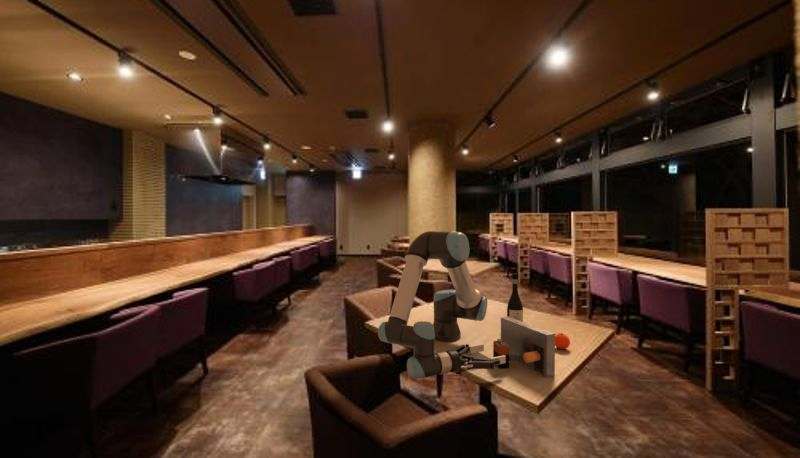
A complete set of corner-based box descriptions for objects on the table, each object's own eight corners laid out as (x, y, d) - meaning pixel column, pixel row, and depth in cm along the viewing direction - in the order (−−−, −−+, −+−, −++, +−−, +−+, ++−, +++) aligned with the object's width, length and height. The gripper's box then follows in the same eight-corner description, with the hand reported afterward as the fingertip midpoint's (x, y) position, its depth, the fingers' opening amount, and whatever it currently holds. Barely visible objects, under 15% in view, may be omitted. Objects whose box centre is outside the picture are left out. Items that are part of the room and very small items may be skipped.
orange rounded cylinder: (523, 360, 138) (523, 351, 138) (533, 358, 140) (533, 349, 140) (529, 364, 135) (530, 354, 135) (540, 362, 137) (540, 352, 137)
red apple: (548, 346, 168) (548, 331, 168) (559, 344, 170) (559, 329, 170) (561, 352, 160) (561, 336, 160) (573, 350, 163) (573, 334, 162)
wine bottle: (524, 332, 189) (525, 274, 188) (509, 332, 189) (509, 274, 188) (520, 327, 197) (520, 272, 196) (505, 327, 197) (505, 272, 196)
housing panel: (500, 353, 159) (500, 317, 159) (508, 352, 161) (508, 316, 160) (546, 377, 135) (546, 335, 135) (554, 375, 137) (554, 333, 136)
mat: (462, 355, 158) (462, 354, 158) (478, 352, 161) (478, 351, 161) (478, 364, 148) (478, 363, 148) (493, 361, 151) (493, 360, 151)
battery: (503, 361, 150) (503, 337, 150) (509, 368, 143) (509, 343, 143) (492, 362, 150) (492, 338, 149) (499, 369, 143) (499, 344, 143)
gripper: (431, 359, 147) (475, 351, 156) (466, 385, 125) (515, 374, 133) (431, 341, 147) (475, 334, 156) (466, 364, 124) (515, 354, 133)
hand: (493, 353), depth 144 cm, fingers open, 13 cm apart
